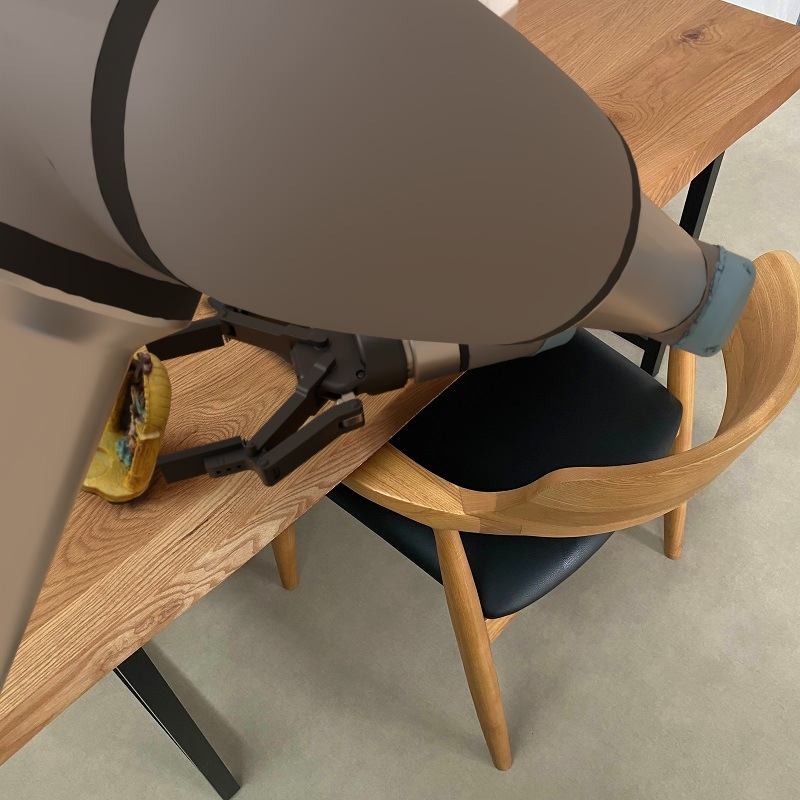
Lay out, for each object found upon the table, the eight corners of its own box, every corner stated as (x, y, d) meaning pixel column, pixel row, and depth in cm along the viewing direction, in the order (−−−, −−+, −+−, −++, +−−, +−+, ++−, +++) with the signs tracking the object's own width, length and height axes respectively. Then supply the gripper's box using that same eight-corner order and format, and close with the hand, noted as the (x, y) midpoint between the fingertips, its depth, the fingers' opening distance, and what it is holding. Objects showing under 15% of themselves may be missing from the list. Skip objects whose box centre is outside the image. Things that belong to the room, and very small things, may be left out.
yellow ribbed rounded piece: (208, 428, 74) (161, 313, 63) (204, 501, 69) (152, 390, 58) (85, 443, 74) (15, 331, 63) (72, 518, 69) (-7, 410, 57)
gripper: (445, 482, 64) (183, 556, 61) (366, 284, 80) (155, 336, 77) (443, 425, 58) (154, 504, 55) (359, 224, 74) (130, 277, 71)
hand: (154, 406), depth 66 cm, fingers open, 13 cm apart
